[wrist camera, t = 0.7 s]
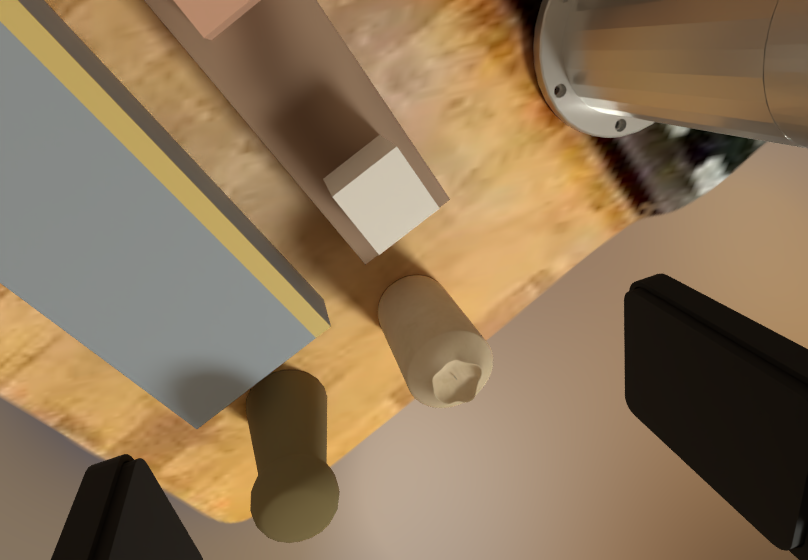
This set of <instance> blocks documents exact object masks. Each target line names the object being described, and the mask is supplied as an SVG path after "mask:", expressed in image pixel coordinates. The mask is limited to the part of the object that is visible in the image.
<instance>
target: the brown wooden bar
mask: <svg viewBox="0 0 808 560" xmlns="http://www.w3.org/2000/svg"><path fill="white" fill-rule="evenodd" d="M144 1H145V2H146V3H147V4H148V6H149V7H150V8H151V9H152V10H153V12H154V13H155V14H156V15H157V16H158V18H159V19H160V20H161V21H162V22H163V23H164V25H165V26H166V27H167V28H168V29H169V31H170V32H171V33H172V34H173V35H174V37H175V38H176V39H177V40H178V41H179V43H180V44H181V45H182V46H183V47H184V49H185V50H186V51H187V52H188V53H189V55H190V56H191V57H192V58H193V59H194V60H195V62H196V63H197V64H198V65H199V66H200V68H201V69H202V70H203V71H204V72H205V74H206V75H207V76H208V77H209V78H210V80H211V81H212V82H213V83H214V84H215V86H216V87H217V88H218V89H219V90H220V92H221V93H222V94H223V95H224V96H225V97H226V99H227V100H228V101H229V102H230V103H231V105H232V106H233V107H234V108H235V109H236V111H237V112H238V113H239V114H240V115H241V117H242V118H243V119H244V120H245V121H246V123H247V124H248V125H249V126H250V127H251V129H252V130H253V131H254V132H255V133H256V134H257V136H258V137H259V138H260V139H261V140H262V142H263V143H264V144H265V145H266V146H267V148H268V149H269V150H270V151H271V152H272V154H273V155H274V156H275V157H276V158H277V160H278V161H279V162H280V163H281V164H282V166H283V167H284V168H285V169H286V170H287V172H288V173H289V174H290V175H291V176H292V177H293V179H294V180H295V181H296V182H297V183H298V185H299V186H300V187H301V188H302V189H303V191H304V192H305V193H306V194H307V195H308V197H309V198H310V199H311V200H312V201H313V203H314V204H315V205H316V206H317V207H318V209H319V210H320V211H321V212H322V213H323V214H324V216H325V217H326V218H327V219H328V220H329V222H330V223H331V224H332V225H333V226H334V228H335V229H336V230H337V231H338V232H339V234H340V235H341V236H342V237H343V238H344V240H345V241H346V242H347V243H348V244H349V246H350V247H351V248H352V249H353V250H354V251H355V253H356V254H357V255H358V256H359V257H360V259H361V260H362V261H363V262H364V263H365V265H366V264H367V263H368V262H370V261H371V260H372V259H374V258H375V257H376V256H377V255H379V254H378V253H377V252H376V250H375V249H374V248H373V247H372V246H371V244H370V243H369V242H368V241H367V239H366V238H365V237H364V236H363V234H362V233H361V232H360V231H359V229H358V228H357V227H356V226H355V224H354V223H353V222H352V221H351V219H350V218H349V217H348V216H347V215H346V213H345V212H344V211H343V210H342V208H341V207H340V206H339V205H338V203H337V202H336V201H335V200H334V198H333V197H332V195H331V194H330V192H329V190H328V188H327V186H326V184H325V182H324V180H323V179H324V178H325V177H326V176H327V175H329V174H330V173H331V172H333V171H334V170H335V169H336V168H338V167H339V166H340V165H341V164H343V163H344V162H345V161H347V160H348V159H349V158H350V157H352V156H353V155H354V154H356V153H357V152H358V151H359V150H361V149H362V148H363V147H364V146H366V145H367V144H368V143H370V142H371V141H372V140H373V139H375V138H376V137H377V136H379V135H381V136H382V137H384V138H385V139H387V140H388V141H390V142H391V143H393V144H394V145H396V146H397V147H398V149H399V150H400V151H401V153H402V154H403V156H404V157H405V159H406V160H407V162H408V163H409V165H410V166H411V167H412V169H413V170H414V172H415V173H416V175H417V176H418V178H419V179H420V181H421V182H422V183H423V185H424V186H425V188H426V189H427V191H428V192H429V194H430V195H431V197H432V198H433V199H434V201H435V202H436V204H437V205H438V207H439V208H440V207H441V206H442V205H443V204H445V203H446V202H447V201H449V200H450V199H449V197H448V196H447V194H446V193H445V191H444V190H443V188H442V187H441V185H440V184H439V182H438V181H437V179H436V178H435V176H434V175H433V173H432V172H431V170H430V169H429V167H428V166H427V164H426V163H425V161H424V160H423V158H422V157H421V155H420V154H419V152H418V151H417V149H416V148H415V146H414V145H413V143H412V142H411V140H410V139H409V137H408V136H407V134H406V133H405V131H404V130H403V129H402V127H401V126H400V124H399V123H398V121H397V120H396V118H395V117H394V115H393V114H392V112H391V111H390V109H389V108H388V106H387V105H386V103H385V102H384V100H383V99H382V97H381V96H380V94H379V93H378V91H377V90H376V88H375V87H374V85H373V84H372V82H371V81H370V79H369V78H368V76H367V75H366V73H365V72H364V70H363V69H362V67H361V66H360V64H359V63H358V61H357V60H356V58H355V57H354V56H353V54H352V53H351V51H350V50H349V48H348V47H347V45H346V44H345V42H344V41H343V39H342V38H341V36H340V35H339V33H338V32H337V30H336V29H335V27H334V26H333V24H332V23H331V21H330V20H329V18H328V17H327V15H326V14H325V12H324V11H323V9H322V8H321V6H320V5H319V3H318V2H317V0H261V1H259V2H258V3H257V4H256V5H254V6H253V7H252V8H251V9H249V10H248V11H247V12H246V13H244V14H243V15H242V16H241V17H240V18H238V19H237V20H236V21H235V22H233V23H232V24H231V25H230V26H228V27H227V28H226V29H225V30H223V31H222V32H221V33H220V34H219V35H217V36H216V37H215V38H214V39H212V40H209V39H206V38H203V36H202V35H201V34H200V33H199V31H198V30H197V29H196V28H195V26H194V25H193V24H192V23H191V21H190V20H189V19H188V18H187V17H186V15H185V14H184V13H183V12H182V10H181V9H180V8H179V7H178V5H177V4H176V3H175V2H174V0H144Z"/></svg>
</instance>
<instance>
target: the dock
mask: <svg viewBox="0 0 808 560" xmlns="http://www.w3.org/2000/svg"><path fill="white" fill-rule="evenodd" d="M0 283H1V284H3V285H4V286H5V287H7V288H8V289H9V290H11V291H12V292H13V293H15V294H16V295H17V296H19V297H20V298H21V299H23V300H24V301H25V302H27V303H28V304H29V305H31V306H32V307H33V308H35V309H36V310H37V311H39V312H40V313H41V314H43V315H44V316H45V317H47V318H48V319H50V320H51V321H52V322H54V323H55V324H56V325H58V326H59V327H60V328H62V329H63V330H64V331H66V332H67V333H68V334H70V335H71V336H72V337H74V338H75V339H76V340H78V341H79V342H80V343H82V344H83V345H84V346H86V347H87V348H88V349H90V350H91V351H93V352H94V353H95V354H97V355H98V356H99V357H101V358H102V359H103V360H105V361H106V362H107V363H109V364H110V365H111V366H113V367H114V368H115V369H117V370H118V371H119V372H121V373H122V374H123V375H125V376H126V377H127V378H129V379H130V380H131V381H133V382H134V383H135V384H137V385H138V386H140V387H141V388H142V389H144V390H145V391H146V392H148V393H149V394H150V395H152V396H153V397H154V398H156V399H157V400H158V401H160V402H161V403H162V404H164V405H165V406H166V407H168V408H169V409H170V410H172V411H173V412H174V413H176V414H177V415H178V416H180V417H181V418H183V419H184V420H185V421H187V422H188V423H189V424H191V425H192V426H193V427H195V428H196V429H198V428H199V427H201V426H202V425H203V424H204V423H206V422H207V421H208V420H210V419H211V418H212V417H214V416H215V415H216V414H218V413H219V412H220V411H221V410H223V409H224V408H225V407H227V406H228V405H229V404H231V403H232V402H233V401H234V400H236V399H237V398H238V397H240V396H241V395H242V394H244V393H245V392H246V391H247V390H249V389H250V388H251V387H253V386H254V385H255V384H257V383H258V382H259V381H260V380H262V379H263V378H264V377H266V376H267V375H268V374H270V373H271V372H272V371H273V370H275V369H276V368H277V367H279V366H280V365H281V364H283V363H284V362H285V361H286V360H288V359H289V358H290V357H292V356H293V355H294V354H296V353H297V352H298V351H299V350H301V349H302V348H303V347H305V346H306V345H307V344H309V343H310V342H311V341H313V340H314V339H315V338H317V337H318V336H320V335H321V334H322V333H324V332H325V331H326V330H327V329H329V328H330V327H331V325H330V321H329V318H328V314H327V310H326V307H325V303H324V299H323V298H322V297H321V296H320V295H319V294H318V293H317V292H316V291H315V290H314V289H313V288H312V287H311V286H310V285H309V283H308V282H307V281H306V280H305V279H304V278H303V277H302V276H301V275H300V274H299V273H298V272H297V271H296V270H295V268H294V267H293V266H292V265H291V264H290V263H289V262H288V261H287V260H286V259H285V258H284V257H283V256H282V255H281V253H280V252H279V251H278V250H277V249H276V248H275V247H274V246H273V245H272V244H271V243H270V242H269V241H268V240H267V238H266V237H265V236H264V235H263V234H262V233H261V232H260V231H259V230H258V229H257V228H256V227H255V226H254V225H253V223H252V222H251V221H250V220H249V219H248V218H247V217H246V216H245V215H244V214H243V213H242V212H241V211H240V210H239V209H238V207H237V206H236V205H235V204H234V203H233V202H232V201H231V200H230V199H229V198H228V197H227V196H226V195H225V194H224V192H223V191H222V190H221V189H220V188H219V187H218V186H217V185H216V184H215V183H214V182H213V181H212V180H211V179H210V177H209V176H208V175H207V174H206V173H205V172H204V171H203V170H202V169H201V168H200V167H199V166H198V165H197V164H196V162H195V161H194V160H193V159H192V158H191V157H190V156H189V155H188V154H187V153H186V152H185V151H184V150H183V149H182V148H181V146H180V145H179V144H178V143H177V142H176V141H175V140H174V139H173V138H172V137H171V136H170V135H169V134H168V133H167V131H166V130H165V129H164V128H163V127H162V126H161V125H160V124H159V123H158V122H157V121H156V120H155V119H154V118H153V116H152V115H151V114H150V113H149V112H148V111H147V110H146V109H145V108H144V107H143V106H142V105H141V104H140V103H139V101H138V100H137V99H136V98H135V97H134V96H133V95H132V94H131V93H130V92H129V91H128V90H127V89H126V88H125V86H124V85H123V84H122V83H121V82H120V81H119V80H118V79H117V78H116V77H115V76H114V75H113V74H112V73H111V72H110V70H109V69H108V68H107V67H106V66H105V65H104V64H103V63H102V62H101V61H100V60H99V59H98V58H97V57H96V55H95V54H94V53H93V52H92V51H91V50H90V49H89V48H88V47H87V46H86V45H85V44H84V43H83V42H82V40H81V39H80V38H79V37H78V36H77V35H76V34H75V33H74V32H73V31H72V30H71V29H70V28H69V27H68V25H67V24H66V23H65V22H64V21H63V20H62V19H61V18H60V17H59V16H58V15H57V14H56V13H55V12H54V11H53V9H52V8H51V7H50V6H49V5H48V4H47V3H46V2H45V1H44V0H0Z"/></svg>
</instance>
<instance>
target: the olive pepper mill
mask: <svg viewBox="0 0 808 560" xmlns="http://www.w3.org/2000/svg"><path fill="white" fill-rule="evenodd" d="M246 414H247V419H248V424H249V429H250V434H251V439H252V445H253V450H254V455H255V460H256V465H257V470H258V477H257V479H256V481H255V483H254V486H253V488H252V491H251V514H252V517H253V519H254V522H255V524H256V526H257V528H258V529H259V530H260V531H261V532H263V533H264V534H265V535H266V536H267V537H268V538H270V539H273V540H275V541H278V542H286V543H292V542H300V541H303V540H306V539H309V538H312V537H313V536H315V535H317V534H319V533H320V532H322V531H323V530H324V529H325V528H326V527H327V526H328V525H329V524H330V522H331V520H332V518H333V516H334V514H335V513H336V511H337V508H338V500H339V487H338V483H337V480H336V477H335V474H334V473H333V471H332V470H331V468H330V467H329V466H328V465H327V464H326V457H327V395H326V392H325V388H324V386H323V385H322V384H321V383H320V381H319V380H318V379H317V378H315V377H314V376H312V375H310V374H309V373H306V372H302V371H298V370H282V371H279V372H275V373H272V374H269V375H268V376H266V377H264V378H263V379H262V380H260V381H259V382H258V383H257V384H255V386H254V387H253V388H252V389H251V390H250V393H249V395H248V397H247V399H246Z"/></svg>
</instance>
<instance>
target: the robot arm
mask: <svg viewBox="0 0 808 560" xmlns="http://www.w3.org/2000/svg"><path fill="white" fill-rule="evenodd" d="M533 52H534V68H535V72H536V76H537V80H538V85H539V87H540V90H541V92H542V94H543V96H544V99H545V101H546V102H547V104H548V105H549V107H550V108H551V110H552V111H553V112H554V114H555V115H556V116H557V117H558V118H559V119H561V120H562V121H563V122H564V123H565V124H566V125H568V126H570V127H571V128H573V129H575V130H577V131H579V132H582V133H586V134H589V135H592V136H599V137H606V138H611V137H622V136H625V135H629V134H632V133H635V132H638V131H640V130H642V129H644V128H646V127H648V126H650V125H651V124H653V123H654V122H659V123H664V124H670V125H676V126H682V127H687V128H693V129H699V130H705V131H710V132H716V133H722V134H728V135H733V136H739V137H745V138H751V139H756V140H762V141H768V142H774V143H780V144H786V145H791V146H797V147H802V148H808V0H543V1H542V3H541V6H540V9H539V13H538V17H537V21H536V25H535V34H534V44H533ZM555 87H556V92H555V93H554V90H555ZM624 331H625V332H624V337H625V338H624V339H625V399H626V402H627V405H628V407H629V409H630V410H631V412H632V413H633V414H634V415H635V416H636V417H637V418H638V419H639V420H640V421H641V422H642V423H643V424H645V425H646V426H647V427H648V428H649V429H650V430H651V431H652V432H653V433H654V434H655V435H656V436H657V437H659V438H660V439H661V440H662V441H663V442H664V443H665V444H666V445H667V446H668V447H669V448H671V450H672V451H673V452H675V453H676V454H677V455H678V456H679V457H680V458H681V459H682V460H683V461H684V462H685V463H686V464H687V465H689V466H690V467H691V468H692V469H693V470H694V471H695V472H696V473H697V474H698V475H699V476H700V477H701V478H702V479H703V480H705V481H706V482H707V483H708V484H709V485H710V486H711V487H712V488H713V489H714V490H715V491H716V492H717V493H718V494H720V495H721V496H722V497H723V498H724V499H725V500H726V501H727V502H728V503H729V504H730V505H731V506H733V507H734V509H736V510H737V511H738V512H739V513H740V514H741V515H742V516H743V517H744V518H745V519H746V520H747V521H748V522H750V523H751V524H752V525H753V526H754V527H755V528H756V529H757V530H758V531H759V532H760V533H761V534H762V535H763V536H765V537H766V538H767V539H768V540H769V541H770V542H771V543H772V544H773V545H775V546H776V547H778V548H779V549H781V550H789V551H790V552H791V553H792V554H793V555H794V556H796V557H797V558H798V559H799V560H808V349H806V348H804V347H803V346H801V345H799V344H797V343H795V342H793V341H791V340H789V339H787V338H785V337H783V336H782V335H780V334H778V333H776V332H774V331H772V330H770V329H768V328H766V327H765V326H763V325H761V324H759V323H757V322H755V321H753V320H751V319H749V318H747V317H746V316H744V315H742V314H740V313H738V312H736V311H734V310H732V309H730V308H728V307H727V306H725V305H723V304H721V303H719V302H717V301H715V300H713V299H711V298H709V297H708V296H706V295H704V294H702V293H700V292H698V291H696V290H694V289H692V288H690V287H689V286H687V285H685V284H682V283H681V282H679V281H677V280H675V279H673V278H671V277H669V276H668V275H665V274H656V275H654V276H651V277H648V278H645V279H642V280H639V281H636V282H634V283H632V285H631V286H630V290H629V292H627V293H626V294H625V298H624ZM51 560H203V558H202V556H201V554H200V552H199V551H198V549H197V547H196V546H195V544H194V543H193V541H192V539H191V537H190V536H189V534H188V532H187V530H186V529H185V527H184V526H183V524H182V522H181V520H180V519H179V517H178V515H177V514H176V512H175V510H174V509H173V507H172V505H171V503H170V502H169V500H168V498H167V497H166V495H165V493H164V492H163V490H162V488H161V487H160V485H159V483H158V481H157V480H156V478H155V476H154V475H153V473H152V471H151V470H150V468H149V466H148V465H147V463H146V462H145V460H143V459H142V458H139V459H136V460H134V459H133V458H132V457H131V456H130V455H128V454H124V455H121V456H118V457H115V458H112V459H109V460H106V461H103V462H100V463H97V464H94V465H91V466H90V467H88V469H87V471H86V472H85V475H84V477H83V479H82V482H81V485H80V487H79V490H78V492H77V495H76V497H75V500H74V502H73V505H72V507H71V510H70V513H69V515H68V518H67V520H66V523H65V525H64V528H63V530H62V533H61V535H60V538H59V541H58V543H57V545H56V548H55V551H54V553H53V556H52V558H51Z"/></svg>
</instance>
